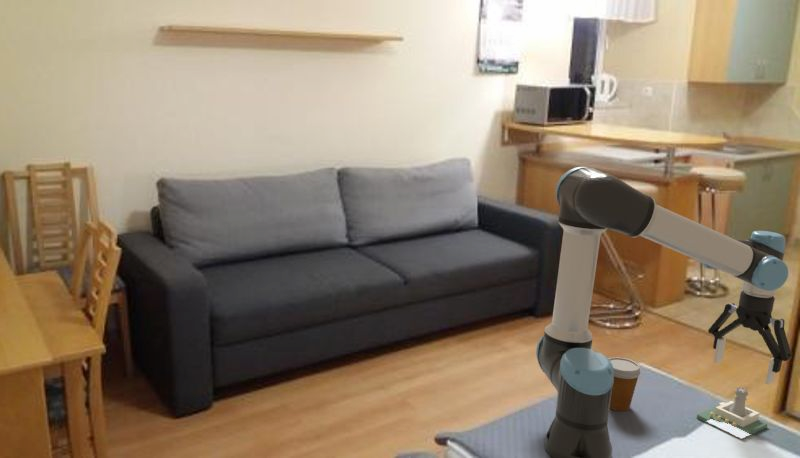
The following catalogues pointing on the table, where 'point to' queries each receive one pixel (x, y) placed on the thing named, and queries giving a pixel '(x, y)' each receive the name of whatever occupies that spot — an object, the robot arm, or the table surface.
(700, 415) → the board
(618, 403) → the disposable coffee cup
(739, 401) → the rook chess piece
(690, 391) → the table surface
